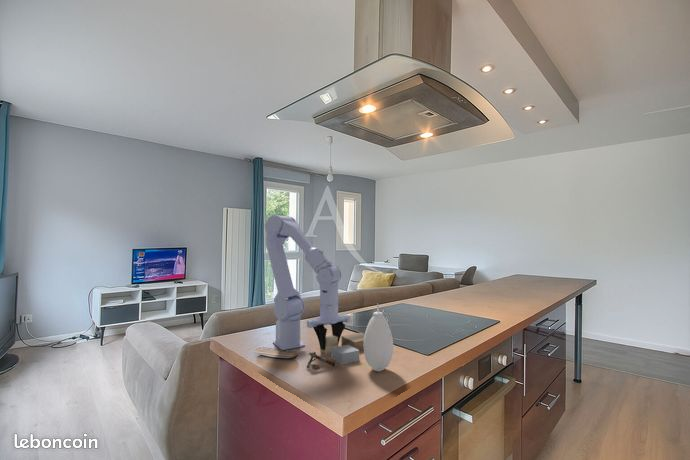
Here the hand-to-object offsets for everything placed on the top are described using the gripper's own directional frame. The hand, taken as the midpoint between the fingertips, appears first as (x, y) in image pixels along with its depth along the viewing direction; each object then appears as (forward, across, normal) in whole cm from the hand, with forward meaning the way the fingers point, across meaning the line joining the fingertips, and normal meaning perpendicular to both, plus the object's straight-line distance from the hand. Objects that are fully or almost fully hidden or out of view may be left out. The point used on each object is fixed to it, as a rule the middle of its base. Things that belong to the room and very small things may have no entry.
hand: (329, 347), depth 99 cm
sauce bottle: (+2, +4, -19) cm, 20 cm away
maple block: (+1, 0, 0) cm, 1 cm away
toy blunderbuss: (+2, -8, -10) cm, 13 cm away
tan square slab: (+1, +11, 0) cm, 11 cm away
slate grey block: (+1, +1, -8) cm, 8 cm away
